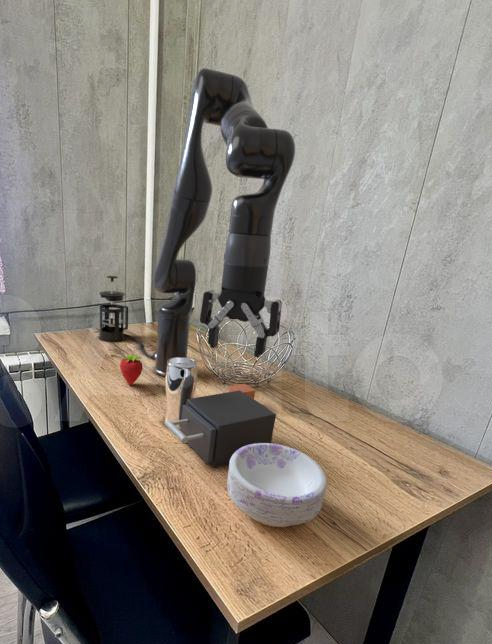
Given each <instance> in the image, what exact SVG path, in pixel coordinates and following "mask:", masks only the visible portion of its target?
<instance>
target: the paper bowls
mask: <svg viewBox="0 0 492 644" xmlns="http://www.w3.org/2000/svg"><path fill="white" fill-rule="evenodd" d="M327 479H328V478H327V476H326V473H325V471H324V469H323V468H322V466H321V465H320V464H318V462H317V461H315V460H314V459H313V458H312V457H311V456H309V455H308V454H305V453H304V452H301V451H299V450H298V449H295V448H293V447H290V446H288V445H282V444H278V443H272V442H271V443H256V444H250V445H246V446H244V447H242V448H240V449H238V450H237V451H236V452H235V453H234V454H233V455H232V457H231V459H230V464H228V472H227V481H226V489H227V492H228V496H229V498H230V499H231V501H232V502H233V504H234V505H235V506H236V507H237V508H239V509H240V510H241V511H242V512H243V513H245V514H246V515H247V516H248V517H250V518H251V519H252V520H254V521H256V522H258V523H260V524H263V525H265V526H269V527H273V528H284V527H285V528H286V527H290V526H297V525H301V524H305V523H307V522H310V521H312V520H313V519H315V518H316V517H317V516H318V515H319V514H320V512H321V509H322V506H323V503H324V498H325V494H326V489H327V487H328V480H327Z"/></svg>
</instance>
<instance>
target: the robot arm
mask: <svg viewBox="0 0 492 644" xmlns="http://www.w3.org/2000/svg"><path fill="white" fill-rule="evenodd" d="M192 85H193V86H192V90H191V96H190V101H189V105H188V106H189V107H188V114H187V120H186V127H185V133H184V140H183V147H182V151H181V157H180V160H179V161H180V162H179V165H178V170H177V174H176V179H175V183H174V187H173V191H172V196H171V200H170V201H171V202H170V207H169V211H168V212H169V213H168V218H167V223H166V227H165V233H164V237H163V240H162V244H161V247H160V250H159V254H158V257H157V261H156V264H155V269H154V274H153V283H154V288H155V290H156V291H157V292H158V293H160V294H175V296H174V297H173V298H171V299H170V300H169V301H166V302H165V303H162V304H161V305H159V307H158V311H157V312H158V313H157V314H158V315H157V331H156V332H157V336H156V345H155V351H154V354H153V355H149V354H148V353H147V352H146V351H145V349H143V344H142V342H141V341H140V340H139V339H138V338H136V337H134V336H131V335H129V334H128V333H127V334H126V333H124V337H127V338H130V339H132V340H134V341H135V342H137V343H138V344H139V349H140V351H141V353H142V354H144V355H145V356H146V357H147V358H150V359H153V360H154V361H155V363H154V372H155V373H156V374H157V375H159V376H162V377H166V369H167V361H168V360H169V359H170V358H174V357H186V358H188V349H189V338H190V337H189V334H190V322H191V314H192V310H193V304H194V297H195V291H196V285H197V284H196V282H197V270H196V265H195V262H193V261H192V260H191V259H182V258H181V259H180V258H179V259H177V258H178V256H179V253H180V251H181V250H182V248H183V246H184V245H185V243H187V241H188V240H189V239H190V238H191V237H192V236H193V235H194V234H195V233H196V232H197V230H198V229H199V228H200V226H202V224H203V223H204V221H205V219H206V218H207V215H208V211H209V207H210V204H211V199H212V196H213V191H214V190H213V183H212V179H211V174H210V171H209V168H208V165H207V162H206V157H205V153H204V148H203V139H202V138H203V127H204V124H209V125H213V126H218V127H220V135H221V137H222V140H223V142H224V143H225V145H226V151H225V166H226V168H227V171H228V172H229V173H230V174H232V175H233V176H235V177H237V178H244V179H255V180H256V179H258V180H263V182H262V184H261V186H260V188H259V189H258V190H257V191H255V192H253V193H245V194H241V195H237V196H236V197H235V198H233V200H232V203H231V208H230V217H229V218H230V219H229V227H228V228H229V230H228V236H227V240H226V244H225V250H224V254H223V267H222V268H223V269H222V279H221V290H220V292H215V291H214V290H213V289H210V290H207V291H204V293H203V295H202V301H201V302H202V303H201V310H200V316H199V322H200V324H204V325H206V326H207V328H208V337H207V344H208V345H209V348H210V349H216V348H217V347H218V345H219V337H220V327H219V326H220V324H221V323H222V322H223V321H224V320H225V319H226V318H228V320H232V321H233V320H234V321H235V320H238V321H240V322H243V323H246V322H249V323H250V326H251V327H252V328H253V329H254V330H255V332H256V335H257V336H256V338H255V339H256V340H255V348H254V353H253V354H254V355H253V357H254V358H260V356H262V355H263V354H264V353H265V352H266V348H267V342H268V338H269V337H275V336H277V334H278V333H279V332H280V326H281V325H280V324H281V317H282V306H283V301H282V300H281V299H276V300H269V299H267V300H266V297H265V292H266V284H267V278H268V271H269V264H270V256H271V250H272V249H271V248H272V245H271V244H272V232H273V225H274V218H275V211H276V208H277V205H278V202H279V199H280V196H281V193H282V192H283V191H282V190H283V189H284V188H283V187H284V186H285V183H286V180H287V178H288V176H289V174H290V171H291V169H292V166H293V163H294V160H295V157H296V142H295V139H294V137H293V135H292V134H291V133H290V131H288V130H285V129H278V128H269V127H268V125H267V123H266V121H265V119H264V118H263V116H262V115H261V114H260V113H259V112H258V111H257V110H256V109H255V108H254V104H253V101H252V96H251V94H250V91H249V88H248V85H247V83H246V82H245V80H244V79H243V78H241V77H240V76H239V75H235V74H231V73H227V72H224V71H219V70H215V69H211V68H205V67H203V68H201V69H200V70H199V71H198V72H197V75H196V76H195V79H194V82H193V84H192ZM217 300H218V301H217ZM216 302H218V303H219V305H220V307H221V309H220V310H219V311H218V312H217V313H216V315H215V316H214V317H213V318H212V314H213V307H214V304H215V303H216ZM264 308H265V309H266V312H267V313H268V314H270V315H269V325H268V327H267V326H266V324H265V322H264V318H263V316H262V314H261V311H262V310H263V309H264ZM102 327H105V325H103V324H102Z"/></svg>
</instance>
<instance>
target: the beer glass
mask: <svg viewBox="0 0 492 644" xmlns="http://www.w3.org/2000/svg"><path fill="white" fill-rule="evenodd" d="M164 377H165V380H164V381H165V382H164V384H165V385H164V386H165V387H164V388H165V397H166V414H165V418H164V423H165V422H166V421H167V420H170V421H171V422H173V421H179V420H182V409H183V405H186V403H187V399H191V398H195V393H196V389H197V385H198V383H197V382H198V361H197V360H195V359H193V358H190V357H187V358H186V357H174V358H170V359H169V360H168V361H167V369H166V376H164ZM175 426H176V427H177V428H178V429H179V430H181V424H178V425H175Z"/></svg>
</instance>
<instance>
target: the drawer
mask: <svg viewBox="0 0 492 644" xmlns="http://www.w3.org/2000/svg"><path fill="white" fill-rule="evenodd" d="M178 424H181V429H178V428H177V427H176V426H175V425H178ZM164 426H165V427H166V428H167V429H168V430H169V431H170V432H171V433H172V434H173V435H174V436H175V437H176V438H177V439H178V441H180V443H182V444H183V445H185V444H187V445H188V446H190V448H192V449H193V450H194V451H195V453H196V454H197V455H199V457H200V458H201V459H202V460H203V461H204V462H205V463H206V464H210V463H212V462H213V455H214V446H215V438H216V427H215V426H214V425H212V424H211V423H210V422H209V421H208V420H206V419H205V418H204V417H203V416H202V415H201V414H199V413H198V412H197V411H196V410H194V409H192V408H191V407H190V406H189V405H188V404H187V405H183V409H182V420H179V421H173V422H171V421H170V420H167V421H166V422H165V421H164Z"/></svg>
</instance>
